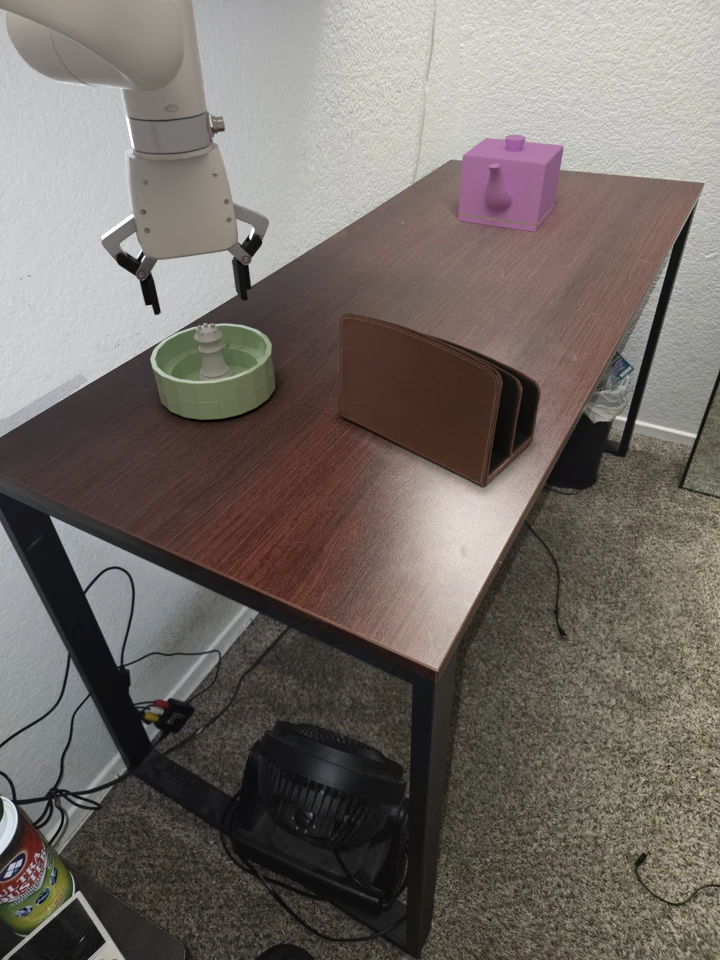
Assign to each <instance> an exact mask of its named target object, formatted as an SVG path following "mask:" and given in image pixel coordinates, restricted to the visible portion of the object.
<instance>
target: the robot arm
mask: <svg viewBox="0 0 720 960" xmlns="http://www.w3.org/2000/svg"><path fill="white" fill-rule="evenodd" d="M0 10H3V11H5V24H6V25H5V26H6V30H7V31H6V32H7V34H8V38H9V40H10V42H11V45H12V47H13V48H14V50H15V52H16V53H17V54H18V56H19V57H20V58H21V60H22V61H23V62H24V63H25V64H26V65H27V66H28V67H29V68H30V69H32V70H33V71H34V72H36V73H37V74H39V75H41V76H42V77H44V78H46V79H49V80H51V81H54V82H57V83H61V84H65V85H70V86H71V85H72V86H81V87H93V88H101V87H102V88H109V89H119V90H120V94H121V95H120V96H121V100H122V105H123V109H124V114H125V120H126V124H127V129H128V134H129V139H130V143H131V147H132V148H130V149H128V150H126V151H125V154H124V155H125V156H124V158H125V160H124V161H125V162H124V163H125V175H126V183H127V191H128V197H129V198H128V199H129V205H130V210H131V214H130V215H128V216H127V217H125V218H124V219H123V220H122V221H120V222H119V223H118V224H116V225H115V226H112V228H111V229H109V230H108V231H106V232H105V233H104V234H102V235H101V237H100V242H101V245H102V247H103V248H104V249H105V250H106V251H107V253H108V254H109V255H110V257H112V259H114V261H115V262H116V263H117V265H118V266H119V267H121V268H122V269H124V270H125V271H127V272H129V273H130V274H132V275H133V276H134V277H136V279H137V280H139V281H138V282H139V285H140V289H141V293H142V298H143V302H144V306H145V307H147V306H151V308H152V311H153V314H154V316H159V315H160V314H162V311H161V305H160V302H159V297H158V292H157V287H156V281H155V278H154V277H153V274H152V271H153V269H154V267H155V265H156V263H157V262H158V261H163V260H164V261H165V260H172V259H179V258H181V259H182V258H187V257H194V256H201V255H209V254H215V253H221V252H225V251H227V252H228V253H230V254H231V255H232V256H233V257H232V259H231V266H232V272H233V281H234V288H235V291H236V294H237V296H238V297H239V299H240V300H241V301H242V302H245V301H248V300H249V297H248V290H252V283H251V273H250V264H251V263H252V259H253V257H255V254H256V253H257V252H258V251H259V250H260V248H261V247H262V245H263V240H264V238H265V236H266V232H267V230H268V228H269V226H270V225H269V224H270V220H269V219H268V218H267V217H266V215H265V214H263V213H260V212H257V211H255V210H252V209H250V208H248V207H246V206H242V205H240V204H238V203H235V202H234V201H233V196H232V192H231V186H230V181H229V178H228V173H227V171H226V167H225V163H224V160H223V156H222V153H221V150H220V147H219V144H217V143H216V142H214V138H215V135H218V133H224V132H225V131H226V126H225V120H224V117H223V116H222V115H221V116H215V115H212V114H211V113H210V112H208V109H207V101H206V93H205V86H204V85H205V84H204V78H203V72H202V71H203V69H202V64H201V58H200V48H199V41H198V34H197V28H196V21H195V14H194V13H195V12H194V6H193V1H192V0H0ZM237 221H241V222H244V223H246V224H248V225H251V226H252V227H251V230H250V232H249V234H248V235H247V236H246V238H245V239H244V240H243V242H242V243H240V242H239V231H238V223H237ZM133 234H135V235H136V238H137V241H138V244H139V245H140V247H141V250H140V251H139V253H138V255H137V256H136V257H134V256H133V255H131V254H130V253H128V252H127V251H125V250H124V249H123V247H122V246H121V244H122V242H124V241H125V240H127V238H129V237H130V236H133Z"/></svg>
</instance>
